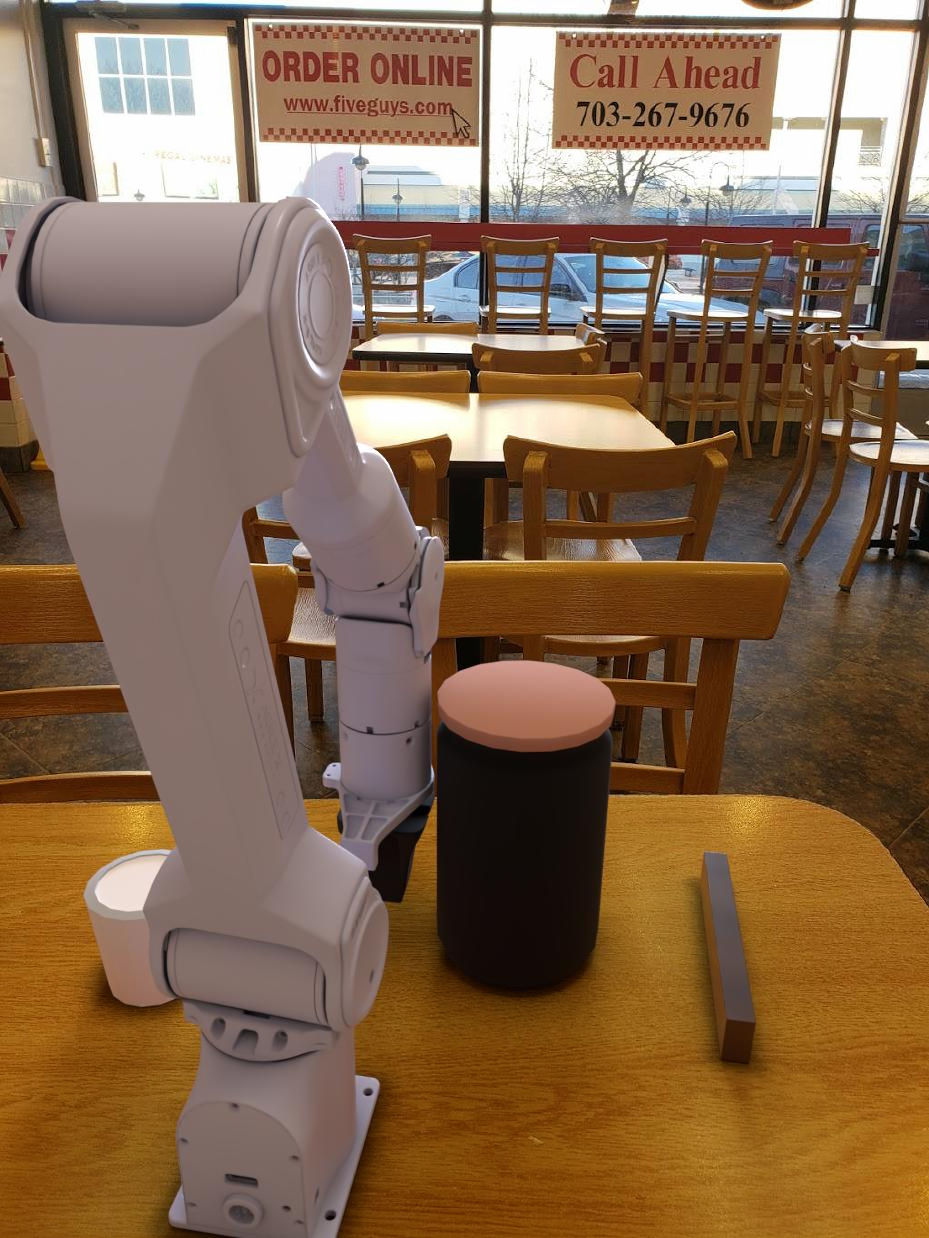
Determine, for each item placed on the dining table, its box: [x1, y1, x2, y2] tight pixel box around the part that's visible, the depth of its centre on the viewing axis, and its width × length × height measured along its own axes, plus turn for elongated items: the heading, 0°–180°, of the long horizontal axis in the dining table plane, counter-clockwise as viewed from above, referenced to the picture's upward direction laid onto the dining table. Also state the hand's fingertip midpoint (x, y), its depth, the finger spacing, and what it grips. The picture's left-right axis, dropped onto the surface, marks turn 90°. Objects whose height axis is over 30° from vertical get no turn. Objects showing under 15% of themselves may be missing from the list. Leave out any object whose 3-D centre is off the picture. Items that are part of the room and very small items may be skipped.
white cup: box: [83, 848, 175, 1008], centre depth 58 cm, size 7×7×7 cm
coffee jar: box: [436, 660, 617, 991], centre depth 59 cm, size 11×11×18 cm
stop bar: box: [699, 851, 757, 1064], centre depth 60 cm, size 16×2×3 cm, turn 171°
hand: (388, 895), depth 63 cm, fingers closed
